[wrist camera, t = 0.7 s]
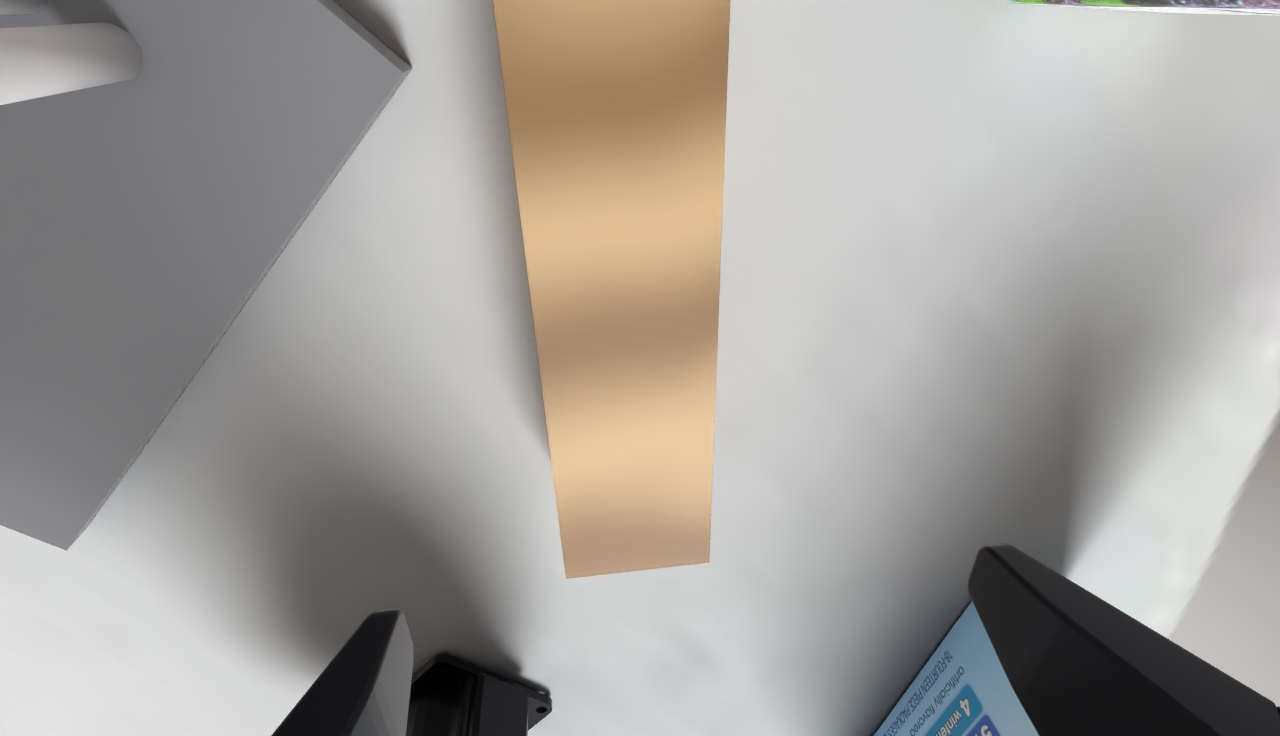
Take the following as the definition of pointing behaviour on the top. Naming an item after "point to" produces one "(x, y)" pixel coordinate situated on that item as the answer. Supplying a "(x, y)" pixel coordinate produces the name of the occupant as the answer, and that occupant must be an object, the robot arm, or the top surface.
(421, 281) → the top surface
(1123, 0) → the syrup box
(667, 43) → the wooden block
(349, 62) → the peg stand
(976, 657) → the gum box
